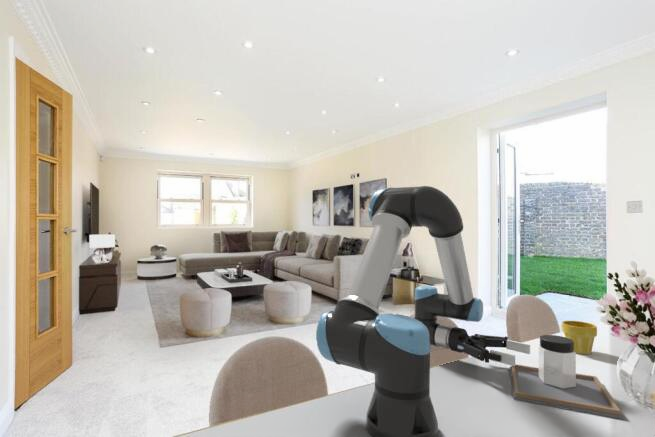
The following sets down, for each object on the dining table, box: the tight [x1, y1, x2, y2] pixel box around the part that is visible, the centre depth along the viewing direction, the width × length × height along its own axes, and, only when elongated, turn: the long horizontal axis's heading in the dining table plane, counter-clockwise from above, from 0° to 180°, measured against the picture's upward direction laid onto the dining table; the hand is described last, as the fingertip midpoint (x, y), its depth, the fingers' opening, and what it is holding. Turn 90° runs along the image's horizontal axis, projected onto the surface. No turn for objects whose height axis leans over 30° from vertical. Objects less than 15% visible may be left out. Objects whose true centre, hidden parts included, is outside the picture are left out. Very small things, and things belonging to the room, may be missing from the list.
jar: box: [538, 334, 577, 389], centre depth 102 cm, size 9×8×12 cm
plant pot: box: [561, 320, 598, 355], centre depth 129 cm, size 10×10×10 cm
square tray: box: [509, 363, 624, 420], centre depth 98 cm, size 22×22×2 cm
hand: (522, 354), depth 104 cm, fingers open, 13 cm apart
